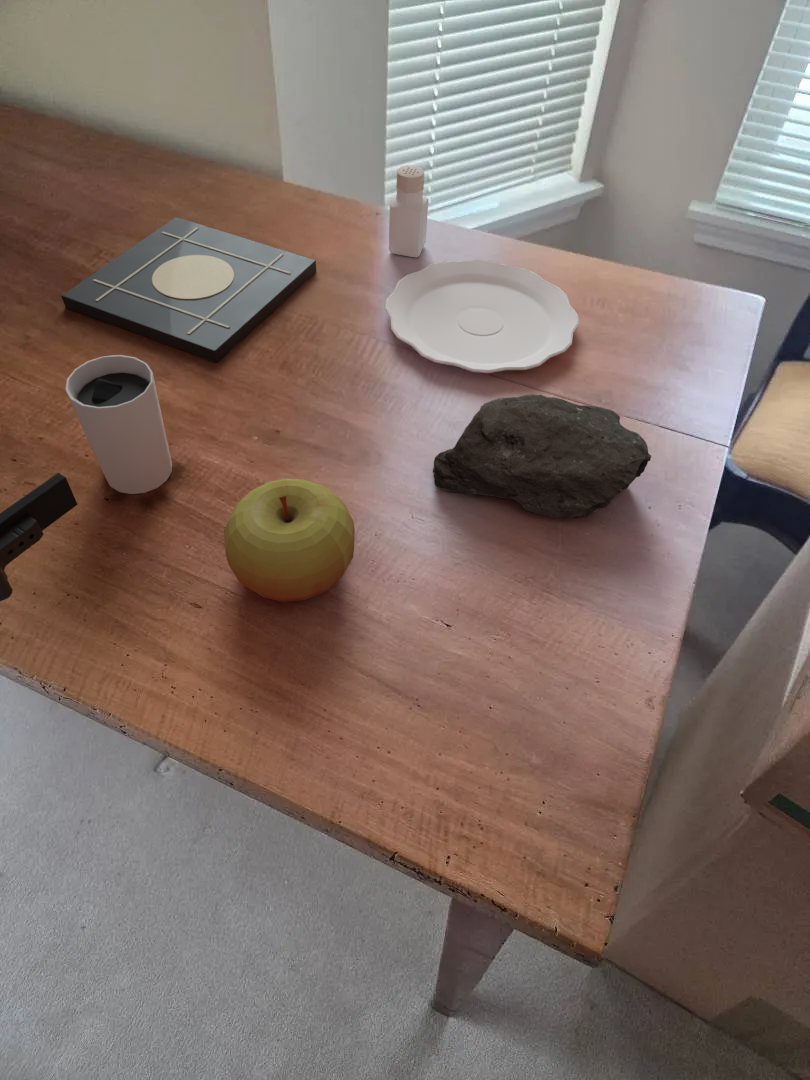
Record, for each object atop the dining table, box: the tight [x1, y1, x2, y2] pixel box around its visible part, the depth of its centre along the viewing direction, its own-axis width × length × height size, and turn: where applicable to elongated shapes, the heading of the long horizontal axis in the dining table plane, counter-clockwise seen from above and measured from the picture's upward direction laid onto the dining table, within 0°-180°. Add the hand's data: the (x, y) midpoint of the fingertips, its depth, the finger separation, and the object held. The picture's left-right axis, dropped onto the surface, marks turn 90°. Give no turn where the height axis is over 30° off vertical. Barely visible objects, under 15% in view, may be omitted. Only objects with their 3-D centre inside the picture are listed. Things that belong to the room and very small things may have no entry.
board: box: [61, 216, 317, 364], centre depth 85 cm, size 20×20×2 cm
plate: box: [384, 258, 580, 374], centre depth 83 cm, size 21×21×2 cm
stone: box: [432, 394, 652, 518], centre depth 65 cm, size 18×9×10 cm
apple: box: [223, 478, 356, 603], centre depth 57 cm, size 10×10×8 cm
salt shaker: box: [388, 164, 429, 258], centre depth 89 cm, size 4×4×10 cm
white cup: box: [65, 354, 173, 495], centre depth 63 cm, size 7×7×10 cm
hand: (4, 447), depth 54 cm, fingers open, 13 cm apart
